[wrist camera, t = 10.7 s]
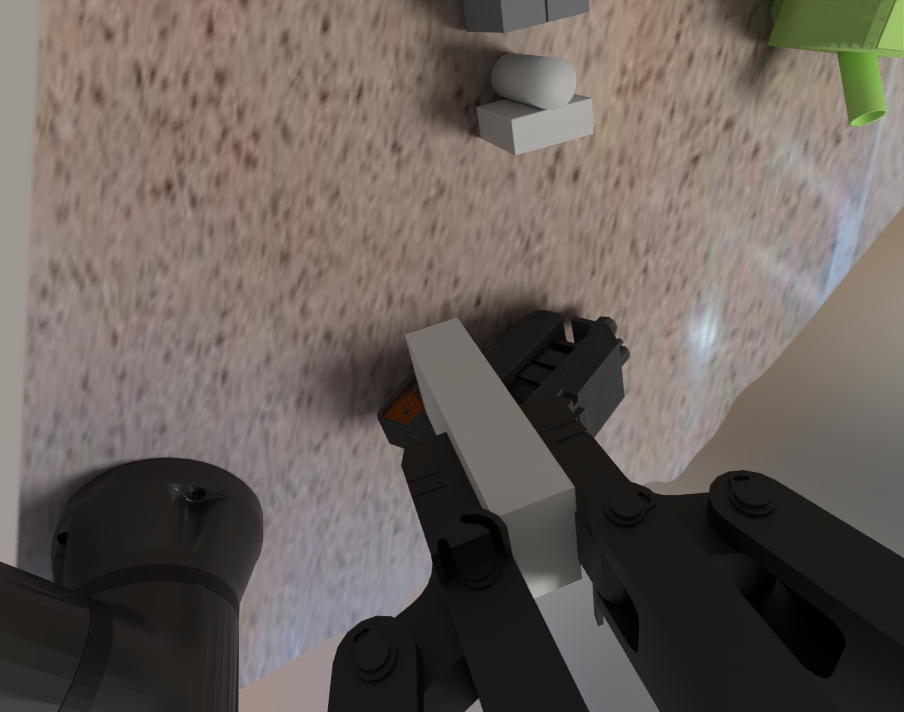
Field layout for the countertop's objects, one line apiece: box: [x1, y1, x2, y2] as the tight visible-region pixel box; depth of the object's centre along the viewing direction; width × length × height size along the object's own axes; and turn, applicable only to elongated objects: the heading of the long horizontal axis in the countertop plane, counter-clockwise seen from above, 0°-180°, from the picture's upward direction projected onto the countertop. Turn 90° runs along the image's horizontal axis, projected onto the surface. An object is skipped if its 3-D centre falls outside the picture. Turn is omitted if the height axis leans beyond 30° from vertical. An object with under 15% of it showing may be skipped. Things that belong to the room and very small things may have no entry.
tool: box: [377, 310, 630, 449], centre depth 42 cm, size 6×19×15 cm, turn 105°
